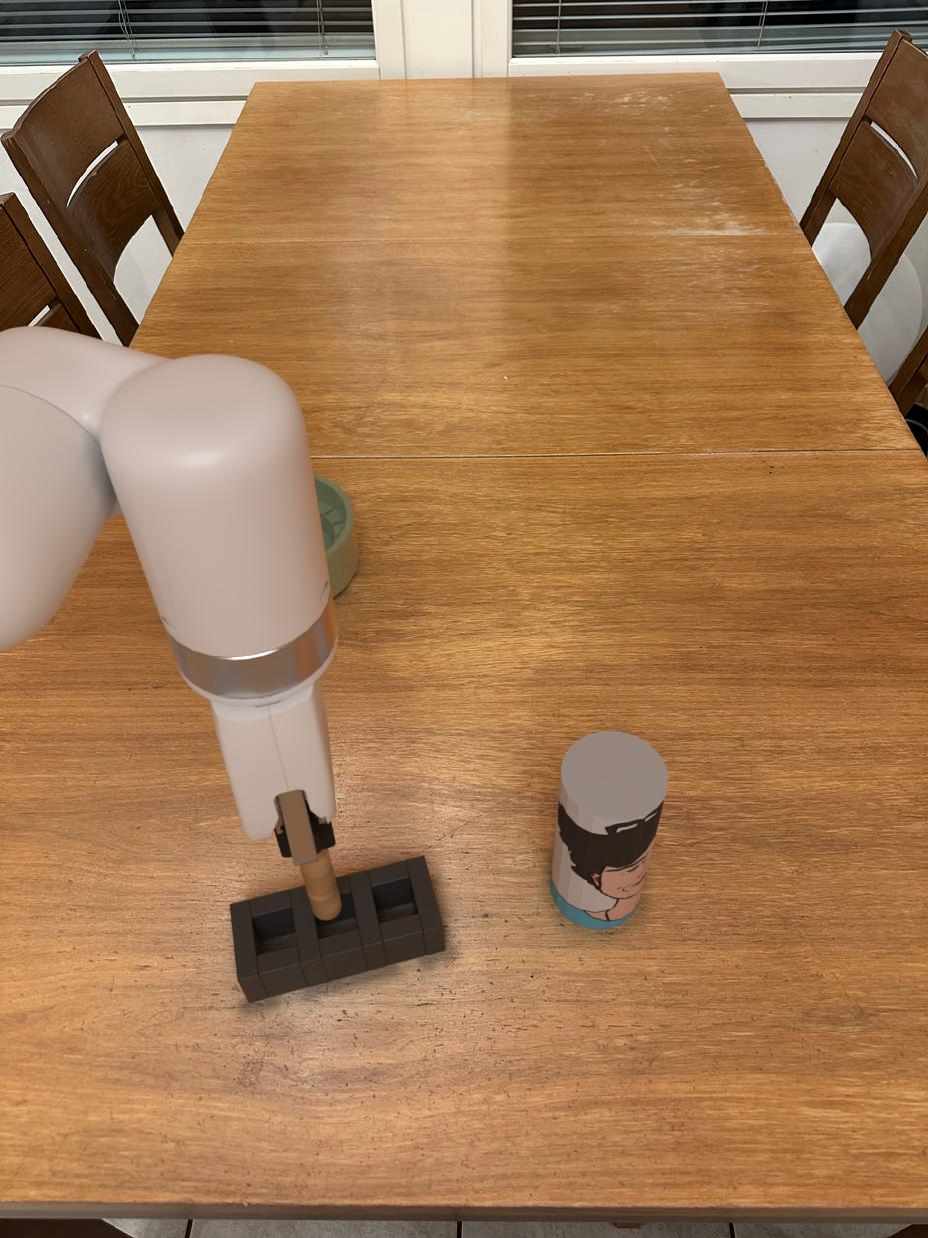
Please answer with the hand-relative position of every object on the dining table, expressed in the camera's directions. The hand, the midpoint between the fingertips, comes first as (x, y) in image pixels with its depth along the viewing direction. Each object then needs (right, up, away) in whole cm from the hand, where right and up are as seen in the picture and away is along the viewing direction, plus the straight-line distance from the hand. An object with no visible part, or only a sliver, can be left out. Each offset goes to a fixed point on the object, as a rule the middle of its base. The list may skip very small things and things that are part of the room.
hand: (305, 827), depth 57 cm
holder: (+1, -11, +11) cm, 16 cm away
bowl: (-9, +18, +38) cm, 43 cm away
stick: (0, -7, +8) cm, 11 cm away
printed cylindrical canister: (+19, -8, +14) cm, 25 cm away
